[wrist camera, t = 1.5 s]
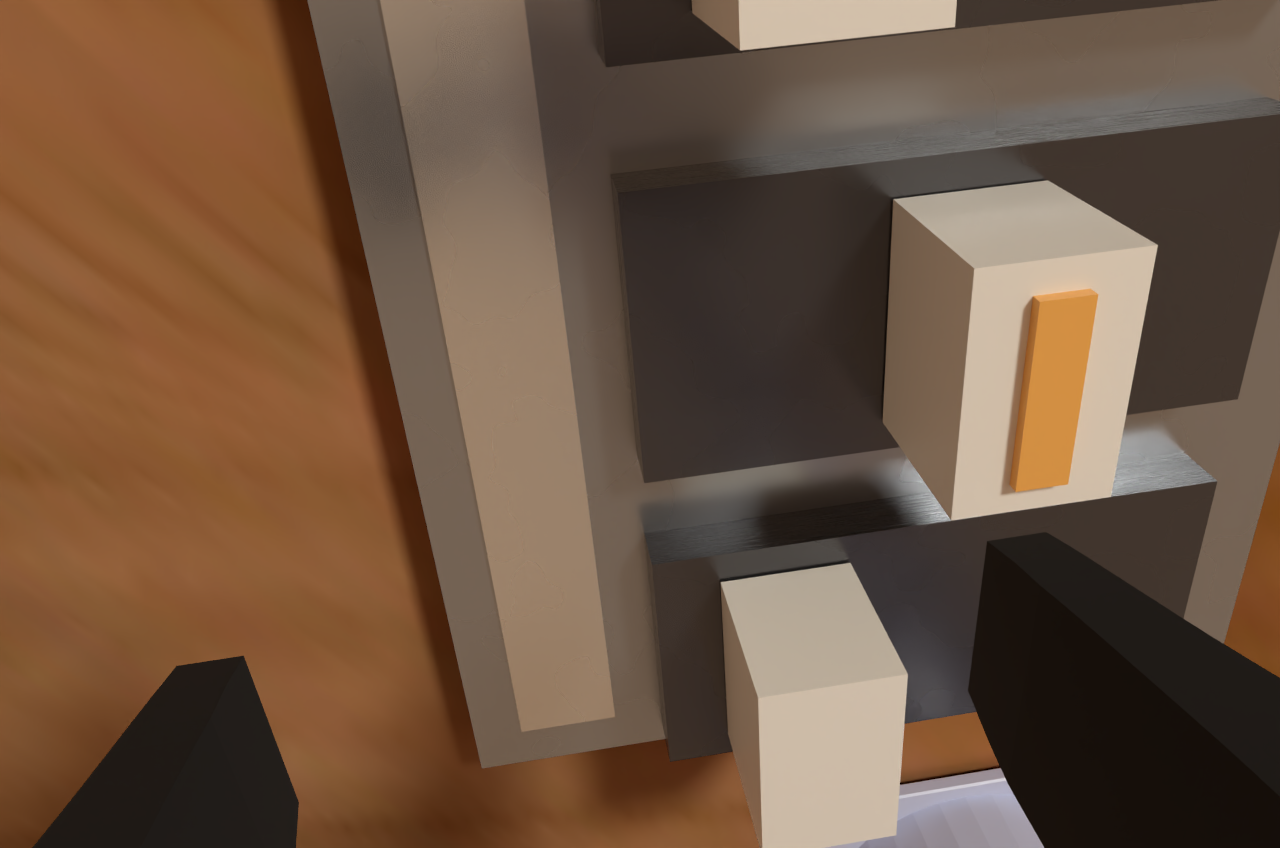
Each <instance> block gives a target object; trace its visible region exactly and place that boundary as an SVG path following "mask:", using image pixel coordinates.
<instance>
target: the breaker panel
mask: <svg viewBox="0 0 1280 848" xmlns="http://www.w3.org/2000/svg"><path fill="white" fill-rule="evenodd" d="M307 1H308V5H309V10H310V14H311V18H312V23H313V27H314V32H315V36H316V40H317V45H318V49H319V54H320V58H321V63H322V67H323V71H324V76H325V80H326V85H327V89H328V93H329V98H330V102H331V107H332V111H333V115H334V120H335V124H336V129H337V133H338V137H339V142H340V146H341V151H342V155H343V159H344V164H345V168H346V173H347V177H348V181H349V186H350V190H351V195H352V199H353V203H354V208H355V212H356V217H357V221H358V225H359V230H360V234H361V239H362V243H363V247H364V252H365V256H366V261H367V265H368V269H369V274H370V278H371V283H372V287H373V291H374V296H375V300H376V305H377V309H378V313H379V318H380V322H381V327H382V331H383V335H384V340H385V344H386V349H387V353H388V358H389V362H390V366H391V371H392V375H393V380H394V384H395V388H396V393H397V397H398V402H399V406H400V410H401V415H402V419H403V424H404V428H405V432H406V437H407V441H408V446H409V450H410V454H411V459H412V463H413V468H414V472H415V476H416V481H417V485H418V490H419V494H420V498H421V503H422V507H423V512H424V516H425V520H426V525H427V529H428V534H429V538H430V542H431V547H432V551H433V556H434V560H435V564H436V569H437V573H438V578H439V582H440V586H441V591H442V595H443V600H444V604H445V608H446V613H447V617H448V622H449V626H450V630H451V635H452V639H453V644H454V648H455V653H456V657H457V661H458V666H459V670H460V675H461V679H462V683H463V688H464V692H465V697H466V701H467V705H468V710H469V714H470V719H471V723H472V727H473V732H474V736H475V741H476V745H477V749H478V754H479V758H480V763H481V767H482V768H488V767H494V766H500V765H507V764H513V763H519V762H525V761H531V760H538V759H544V758H550V757H556V756H562V755H569V754H575V753H581V752H587V751H593V750H599V749H606V748H612V747H618V746H624V745H630V744H637V743H643V742H649V741H655V740H661V739H665V740H666V745H667V750H668V755H669V759H670V762H672V761H678V760H684V759H690V758H696V757H702V756H708V755H715V754H721V753H727V752H733V750H732V746H731V742H730V739H729V735H728V722H727V702H726V682H725V662H724V642H723V622H722V601H721V582H726V581H732V580H739V579H746V578H752V577H759V576H766V575H772V574H779V573H786V572H792V571H799V570H806V569H812V568H819V567H826V566H832V565H839V564H846V563H851V565H852V567H853V569H854V571H855V573H856V575H857V576H858V578H859V580H860V582H861V584H862V586H863V588H864V590H865V592H866V594H867V596H868V598H869V600H870V602H871V604H872V606H873V607H874V609H875V611H876V613H877V615H878V617H879V619H880V621H881V623H882V625H883V627H884V629H885V631H886V633H887V635H888V637H889V639H890V640H891V642H892V644H893V646H894V648H895V650H896V652H897V654H898V656H899V658H900V660H901V662H902V664H903V666H904V668H905V670H906V671H907V673H908V680H907V694H906V707H905V721H904V723H910V722H917V721H923V720H929V719H935V718H941V717H947V716H953V715H959V714H966V713H972V712H977V711H976V709H975V707H974V704H973V702H972V699H971V697H970V694H969V692H968V685H969V678H970V670H971V662H972V654H973V646H974V639H975V631H976V623H977V615H978V607H979V600H980V592H981V584H982V576H983V568H984V561H985V553H986V545H987V541H991V540H997V539H1004V538H1010V537H1017V536H1023V535H1030V534H1036V533H1042V532H1047V533H1049V534H1050V535H1052V536H1054V537H1055V538H1057V539H1059V540H1060V541H1062V542H1064V543H1066V544H1067V545H1069V546H1070V547H1072V548H1074V549H1075V550H1077V551H1079V552H1080V553H1082V554H1083V555H1085V556H1086V557H1088V558H1090V559H1091V560H1093V561H1094V562H1096V563H1097V564H1099V565H1101V566H1102V567H1104V568H1105V569H1107V570H1108V571H1110V572H1112V573H1113V574H1115V575H1116V576H1118V577H1119V578H1121V579H1122V580H1124V581H1126V582H1127V583H1129V584H1130V585H1132V586H1133V587H1135V588H1136V589H1138V590H1139V591H1141V592H1143V593H1144V594H1146V595H1147V596H1149V597H1150V598H1152V599H1154V600H1155V601H1157V602H1158V603H1160V604H1161V605H1163V606H1164V607H1166V608H1168V609H1169V610H1171V611H1172V612H1174V613H1175V614H1177V615H1178V616H1180V617H1182V618H1183V619H1185V620H1186V621H1188V622H1190V623H1191V624H1193V625H1194V626H1196V627H1197V628H1199V629H1201V630H1202V631H1204V632H1205V633H1207V634H1209V635H1210V636H1212V637H1213V638H1215V639H1217V640H1218V641H1220V642H1221V643H1223V644H1224V641H1225V637H1226V633H1227V630H1228V626H1229V623H1230V619H1231V615H1232V612H1233V608H1234V605H1235V601H1236V598H1237V594H1238V590H1239V587H1240V583H1241V580H1242V576H1243V572H1244V569H1245V565H1246V562H1247V558H1248V554H1249V551H1250V547H1251V544H1252V540H1253V536H1254V533H1255V529H1256V526H1257V522H1258V519H1259V515H1260V511H1261V508H1262V504H1263V501H1264V497H1265V493H1266V490H1267V486H1268V483H1269V479H1270V475H1271V472H1272V468H1273V465H1274V461H1275V457H1276V454H1277V450H1278V447H1279V443H1280V0H957V6H956V20H955V27H951V28H942V29H933V30H924V31H915V32H905V33H896V34H887V35H878V36H869V37H860V38H850V39H841V40H832V41H823V42H814V43H805V44H795V45H786V46H777V47H768V48H759V49H750V50H739V49H737V48H736V47H735V46H734V45H732V44H731V43H730V42H729V41H727V40H726V39H725V38H723V37H722V36H721V35H720V34H718V33H717V32H716V31H715V30H713V29H712V28H711V27H709V26H708V25H707V24H706V23H704V22H703V21H702V20H701V19H699V18H698V17H697V16H695V15H694V14H693V13H692V0H307ZM1047 180H1048V181H1050V182H1051V183H1053V184H1055V185H1057V186H1058V187H1060V188H1062V189H1063V190H1065V191H1067V192H1068V193H1070V194H1072V195H1074V196H1075V197H1077V198H1079V199H1080V200H1082V201H1084V202H1085V203H1087V204H1089V205H1091V206H1092V207H1094V208H1096V209H1097V210H1099V211H1101V212H1103V213H1104V214H1106V215H1108V216H1109V217H1111V218H1113V219H1114V220H1116V221H1118V222H1120V223H1121V224H1123V225H1125V226H1126V227H1128V228H1130V229H1131V230H1133V231H1135V232H1137V233H1138V234H1140V235H1142V236H1143V237H1145V238H1147V239H1148V240H1150V241H1152V242H1154V243H1155V244H1157V245H1158V247H1157V252H1156V258H1155V263H1154V269H1153V274H1152V279H1151V285H1150V290H1149V295H1148V301H1147V306H1146V311H1145V317H1144V322H1143V328H1142V333H1141V338H1140V344H1139V349H1138V354H1137V360H1136V365H1135V370H1134V376H1133V381H1132V386H1131V392H1130V397H1129V403H1128V408H1127V413H1126V419H1125V424H1124V429H1123V435H1122V440H1121V445H1120V451H1119V456H1118V462H1117V467H1116V472H1115V478H1114V483H1113V488H1112V494H1111V497H1107V498H1100V499H1093V500H1086V501H1080V502H1073V503H1066V504H1059V505H1053V506H1046V507H1039V508H1032V509H1026V510H1019V511H1012V512H1005V513H998V514H992V515H985V516H978V517H971V518H965V519H958V520H950V518H949V517H948V515H947V514H946V512H945V511H944V509H943V508H942V507H941V505H940V504H939V502H938V501H937V499H936V498H935V497H934V495H933V494H932V492H931V491H930V489H929V488H928V487H927V485H926V484H925V482H924V481H923V479H922V478H921V477H920V475H919V474H918V472H917V471H916V469H915V468H914V466H913V465H912V464H911V462H910V461H909V459H908V458H907V456H906V455H905V454H904V452H903V451H902V449H901V448H900V446H899V445H898V444H897V442H896V441H895V439H894V438H893V436H892V435H891V434H890V432H889V431H888V429H887V428H886V426H885V425H884V423H883V404H884V383H885V362H886V341H887V320H888V299H889V278H890V258H891V237H892V216H893V199H900V198H908V197H916V196H924V195H932V194H941V193H949V192H957V191H965V190H973V189H982V188H990V187H998V186H1006V185H1014V184H1023V183H1031V182H1039V181H1047Z"/></svg>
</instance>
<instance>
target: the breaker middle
mask: <svg viewBox="0 0 1280 848" xmlns="http://www.w3.org/2000/svg"><path fill="white" fill-rule="evenodd" d="M1157 247H1158V245H1157V244H1155V243H1154V242H1152V241H1150V240H1148V239H1147V238H1145V237H1143V236H1142V235H1140V234H1138V233H1137V232H1135V231H1133V230H1131V229H1130V228H1128V227H1126V226H1125V225H1123V224H1121V223H1120V222H1118V221H1116V220H1114V219H1113V218H1111V217H1109V216H1108V215H1106V214H1104V213H1103V212H1101V211H1099V210H1097V209H1096V208H1094V207H1092V206H1091V205H1089V204H1087V203H1085V202H1084V201H1082V200H1080V199H1079V198H1077V197H1075V196H1074V195H1072V194H1070V193H1068V192H1067V191H1065V190H1063V189H1062V188H1060V187H1058V186H1057V185H1055V184H1053V183H1051V182H1050V181H1048V180H1047V181H1039V182H1031V183H1023V184H1014V185H1006V186H998V187H990V188H982V189H973V190H965V191H957V192H949V193H941V194H932V195H924V196H916V197H908V198H900V199H893V216H892V237H891V258H890V278H889V299H888V320H887V341H886V362H885V383H884V404H883V423H884V425H885V426H886V428H887V429H888V431H889V432H890V434H891V435H892V436H893V438H894V439H895V441H896V442H897V444H898V445H899V446H900V448H901V449H902V451H903V452H904V454H905V455H906V456H907V458H908V459H909V461H910V462H911V464H912V465H913V466H914V468H915V469H916V471H917V472H918V474H919V475H920V477H921V478H922V479H923V481H924V482H925V484H926V485H927V487H928V488H929V489H930V491H931V492H932V494H933V495H934V497H935V498H936V499H937V501H938V502H939V504H940V505H941V507H942V508H943V509H944V511H945V512H946V514H947V515H948V517H949V518H950V520H958V519H965V518H971V517H978V516H985V515H992V514H998V513H1005V512H1012V511H1019V510H1026V509H1032V508H1039V507H1046V506H1053V505H1059V504H1066V503H1073V502H1080V501H1086V500H1093V499H1100V498H1107V497H1111V494H1112V488H1113V483H1114V478H1115V472H1116V467H1117V462H1118V456H1119V451H1120V445H1121V440H1122V435H1123V429H1124V424H1125V419H1126V413H1127V408H1128V403H1129V397H1130V392H1131V386H1132V381H1133V376H1134V370H1135V365H1136V360H1137V354H1138V349H1139V344H1140V338H1141V333H1142V328H1143V322H1144V317H1145V311H1146V306H1147V301H1148V295H1149V290H1150V285H1151V279H1152V274H1153V269H1154V263H1155V258H1156V252H1157Z"/></svg>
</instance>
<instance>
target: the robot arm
mask: <svg viewBox="0 0 1280 848" xmlns="http://www.w3.org/2000/svg"><path fill="white" fill-rule="evenodd" d="M968 692H969V694H970V697H971V699H972V702H973V704H974V707H975V709H976V711H977V714H978V716H979V719H980V721H981V724H982V726H983V728H984V731H985V733H986V736H987V738H988V741H989V743H990V745H991V747H992V750H993V752H994V754H995V756H996V759H997V761H998V763H999V765H1000V767H1001V768H997V769H991V770H985V771H979V772H973V773H968V774H962V775H956V776H950V777H944V778H938V779H932V780H926V781H920V782H914V783H908V784H902V785H900V790H899V804H898V817H897V831H896V835H895V836H889V837H883V838H878V839H872V840H866V841H860V842H854V843H849V844H843V845H837V846H831V847H825V848H1280V678H1279V677H1277V676H1276V675H1274V674H1272V673H1271V672H1269V671H1267V670H1266V669H1264V668H1262V667H1261V666H1259V665H1257V664H1256V663H1254V662H1252V661H1251V660H1249V659H1247V658H1246V657H1244V656H1242V655H1241V654H1239V653H1238V652H1236V651H1234V650H1233V649H1231V648H1230V647H1228V646H1226V645H1225V644H1223V643H1221V642H1220V641H1218V640H1217V639H1215V638H1213V637H1212V636H1210V635H1209V634H1207V633H1205V632H1204V631H1202V630H1201V629H1199V628H1197V627H1196V626H1194V625H1193V624H1191V623H1190V622H1188V621H1186V620H1185V619H1183V618H1182V617H1180V616H1178V615H1177V614H1175V613H1174V612H1172V611H1171V610H1169V609H1168V608H1166V607H1164V606H1163V605H1161V604H1160V603H1158V602H1157V601H1155V600H1154V599H1152V598H1150V597H1149V596H1147V595H1146V594H1144V593H1143V592H1141V591H1139V590H1138V589H1136V588H1135V587H1133V586H1132V585H1130V584H1129V583H1127V582H1126V581H1124V580H1122V579H1121V578H1119V577H1118V576H1116V575H1115V574H1113V573H1112V572H1110V571H1108V570H1107V569H1105V568H1104V567H1102V566H1101V565H1099V564H1097V563H1096V562H1094V561H1093V560H1091V559H1090V558H1088V557H1086V556H1085V555H1083V554H1082V553H1080V552H1079V551H1077V550H1075V549H1074V548H1072V547H1070V546H1069V545H1067V544H1066V543H1064V542H1062V541H1060V540H1059V539H1057V538H1055V537H1054V536H1052V535H1050V534H1049V533H1047V532H1042V533H1036V534H1030V535H1023V536H1017V537H1010V538H1004V539H997V540H991V541H987V545H986V553H985V561H984V568H983V576H982V584H981V592H980V600H979V607H978V615H977V623H976V631H975V639H974V646H973V654H972V662H971V670H970V678H969V685H968ZM298 805H299V802H298V799H297V797H296V794H295V791H294V789H293V786H292V783H291V781H290V778H289V775H288V773H287V770H286V767H285V765H284V762H283V759H282V757H281V754H280V751H279V749H278V746H277V743H276V741H275V738H274V735H273V733H272V730H271V727H270V725H269V722H268V720H267V717H266V714H265V712H264V709H263V706H262V704H261V701H260V698H259V696H258V693H257V690H256V688H255V685H254V682H253V680H252V677H251V674H250V672H249V669H248V666H247V664H246V661H245V658H244V656H239V657H233V658H226V659H220V660H213V661H207V662H200V663H194V664H187V665H181V666H176V668H175V669H174V670H173V671H172V673H171V674H170V675H169V676H168V677H167V679H166V680H165V681H164V682H163V684H162V685H161V686H160V687H159V689H158V690H157V691H156V692H155V694H154V695H153V696H152V697H151V698H150V700H149V701H148V702H147V704H146V705H145V706H144V707H143V709H142V710H141V711H140V712H139V714H138V715H137V716H136V718H135V719H134V720H133V721H132V723H131V724H130V725H129V727H128V728H127V729H126V730H125V732H124V733H123V734H122V736H121V737H120V738H119V739H118V741H117V742H116V743H115V745H114V746H113V747H112V748H111V750H110V751H109V752H108V754H107V755H106V756H105V757H104V759H103V760H102V761H101V763H100V764H99V765H98V766H97V768H96V769H95V770H94V772H93V773H92V774H91V775H90V777H89V778H88V779H87V780H86V782H85V783H84V784H83V786H82V787H81V788H80V789H79V791H78V792H77V793H76V794H75V796H74V797H73V798H72V800H71V801H70V802H69V803H68V805H67V806H66V807H65V808H64V809H63V811H62V812H61V813H60V814H59V816H58V817H57V818H56V819H55V821H54V822H53V823H52V824H51V826H50V827H49V828H48V829H47V830H46V832H45V833H44V834H43V835H42V837H41V838H40V839H39V840H38V842H37V843H36V844H35V845H34V846H33V848H296V836H297V820H298Z"/></svg>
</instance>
